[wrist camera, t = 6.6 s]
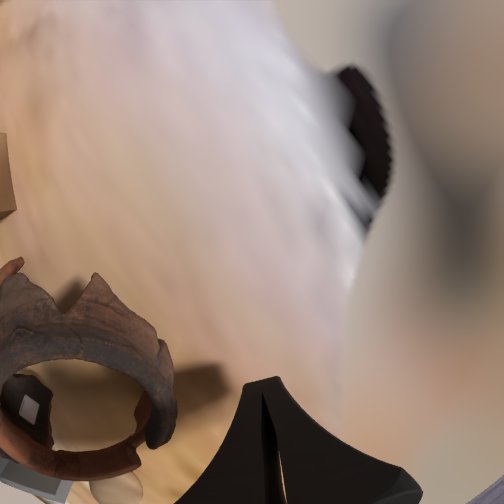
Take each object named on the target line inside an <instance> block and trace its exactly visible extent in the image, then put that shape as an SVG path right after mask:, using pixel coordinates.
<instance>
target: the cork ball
mask: <svg viewBox="0 0 504 504" xmlns="http://www.w3.org/2000/svg"><path fill="white" fill-rule="evenodd" d="M89 486H90V490H91V493H92V495H93V496H94V498H95V499H96V500H97V501H98V502H99V503H100V504H140V502H141V501H142V498H143V487H142V484H141V482H140V480H139V478H138V477H137V476H136V475H135V474H134V473H133V472H129V473H126V474H123V475H121V476H117V477H113V478H110V479H103V480H99V481H89Z"/></svg>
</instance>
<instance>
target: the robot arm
mask: <svg viewBox="0 0 504 504" xmlns="http://www.w3.org/2000/svg"><path fill="white" fill-rule="evenodd" d="M279 453H280V457H279ZM280 459H281V465H282V472H283V478H284V485H285V492H286V499H285V495H284V491H283V484H282V476H281V467H280ZM422 495H423V491H422V489H421V487H420V486H419V484H418V483H417V482H416V481H415V480H414V479H413V478H412V477H411V476H410V475H409V474H408V473H407V472H406V471H405V470H404V469H403V468H401V467H398V466H395V465H392V464H389V463H386V462H383V461H381V460H378V459H376V458H374V457H371V456H369V455H367V454H365V453H363V452H361V451H359V450H357V449H355V448H353V447H351V446H350V445H348V444H346V443H344V442H343V441H341V440H340V439H338V438H337V437H335V436H334V435H332V434H331V433H330V432H328V431H327V430H325V429H324V428H323V427H322V426H320V425H319V424H318V423H317V422H316V421H315V420H314V419H312V418H311V417H310V416H309V415H308V414H307V413H306V412H305V411H304V410H303V409H302V408H301V407H300V405H299V404H298V403H297V402H296V401H295V400H294V399H293V397H292V396H291V395H290V393H289V392H288V391H287V389H286V388H285V386H284V385H283V383H282V381H281V378H280V377H278V376H274V377H271V378H267V379H263V380H259V381H255V382H250V383H246V384H245V385H244V386H243V390H242V394H241V398H240V401H239V405H238V408H237V411H236V413H235V416H234V419H233V421H232V424H231V426H230V428H229V430H228V432H227V434H226V437H225V439H224V441H223V443H222V444H221V446H220V448H219V450H218V452H217V453H216V455H215V456H214V458H213V459H212V461H211V462H210V464H209V465H208V467H207V468H206V469H205V471H204V472H203V473H202V475H201V476H200V477H199V478H198V480H197V481H196V482H195V483H194V484H193V485H192V486H191V487H190V488H189V489H188V490H187V492H186V493H185V494H184V495H183V496H182V497H181V498H180V499H179V500H177V501H176V502H175V503H174V504H286V500H287V504H419V502H420V500H421V498H422ZM466 504H504V475H503V476H502V477H501V478H499V479H498V480H497V481H496V482H495V483H494V484H492V485H491V486H489V487H488V488H487V489H486V490H484V491H483V492H482V493H481V494H479V495H478V496H476V497H475V498H473V499H472V500H471V501H469V502H468V503H466Z"/></svg>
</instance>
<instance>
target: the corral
mask: <svg viewBox="0 0 504 504" xmlns="http://www.w3.org/2000/svg"><path fill="white" fill-rule="evenodd" d="M0 481H1V482H2V483H5V484H7V485H9V486H12V487H14V488H17V489H20V490H22V491H25V492H28V493H31V494H34V495H37V496H40V497H43V498H46V499H49V500H53V501H56V502H60V503H64V504H65V501H66V498H67V496H68V493H69V491H70V488H71V486H72V484H73V481H68V480H61V479H58V478H53V477H49V476H46V475H43V474H40V473H38V472H36V471H34V470H31V469H29V468H28V467H26V466H24V465H22V464H21V463H19V464H17V463H15V462H13V461H11V460H8V459H5V458H2V457H1V456H0Z"/></svg>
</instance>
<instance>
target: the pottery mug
mask: <svg viewBox="0 0 504 504" xmlns="http://www.w3.org/2000/svg"><path fill="white" fill-rule="evenodd" d="M23 264H24V259H23V258H22V257H19V258H17V259H14V260H11V261H9V262H8V263H7V264H5V265H4V266H3V267H2V268H1V269H0V404H1V405H0V456H1V457H2V458H5V459H8V460H11V461H13V462H15V463H17V464H19V463H21V464H22V465H24V466H26V467H28V468H29V469H31V470H34V471H36V472H38V473H40V474H43V475H46V476H49V477H53V478H58V479H61V480H68V481H99V480H103V479H110V478H113V477H117V476H121V475H123V474H126V473H129V472H132V471H133V470H135V469H137V468H139V467H140V466H141V460H140V458H139V456H138V454H137V453H136V448H137V447H138V446H139V445H140V444H142V443H143V442H144V441H146V444H147V446H148V448H150V449H157V448H158V447H160V446H162V445H164V444H166V443H168V441H169V440H170V439H171V437H172V434H173V433H174V429H175V426H176V418H177V401H176V398H175V396H174V393H173V383H174V369H173V362H172V359H171V356H170V353H169V350H168V347H167V344H166V343H165V341H164V340H162V339H158V338H157V332H156V330H155V328H154V327H153V326H152V325H151V324H150V323H148V322H147V321H146V320H145V319H143V318H142V317H140V316H138V315H137V314H136V313H135V312H133V311H131V310H130V309H129V308H127V307H126V306H125V305H124V304H123V303H122V302H121V301H120V300H119V299H118V297H117V296H116V295H115V294H114V293H113V292H112V290H111V288H110V286H109V285H108V284H107V283H106V282H105V280H104V279H103V278H102V277H101V276H100V275H99V274H98V273H96V272H95V273H94V274H93V275H92V277H91V281H90V282H89V284H88V285H87V287H86V288H85V289H84V290H83V291H82V293H81V294H80V296H79V297H78V299H77V300H76V301H75V303H74V304H73V305H72V307H71V308H70V309H69V310H68V311H67V312H66V313H64V314H62V313H60V311H59V310H58V308H57V306H56V304H55V301H54V299H53V298H52V297H51V296H50V295H49V294H48V293H47V292H46V291H45V290H44V289H42V288H40V287H39V286H37V285H35V284H32V283H31V282H30V281H29V279H28V278H27V277H26V275H24V274H23V273H17V272H18V270H19V269H20V268H21V267H22V266H23ZM16 273H17V274H16ZM57 359H79V360H84V361H88V362H94V363H98V364H100V365H103V366H106V367H109V368H113V369H115V370H117V371H120V372H122V373H124V374H126V375H127V376H129V377H132V378H133V379H134V380H136V381H137V382H138V383H139V384H140V385H141V386H142V387H143V388H144V389H145V390H146V392H145V393H144V394H143V396H142V397H141V399H140V400H139V402H138V404H137V406H136V408H135V411H134V416H135V419H136V421H137V428H136V431H135V433H134V434H133V435H131V436H129V437H128V438H127V439H125V440H123V441H122V442H119V443H117V444H115V445H113V446H110V447H107V448H105V449H100V450H94V451H83V452H71V451H64V450H58V451H54V450H52V447H53V445H54V440H53V437H52V435H51V434H52V428H51V423H50V412H51V399H52V397H53V393H52V391H51V390H50V389H49V388H47V387H46V386H44V385H43V384H42V383H41V382H40V381H39V380H38V379H37V378H36V377H35V376H34V375H24V374H14V373H16V372H17V371H19V370H21V369H23V368H25V367H27V366H30V365H34V364H37V363H40V362H44V361H50V360H57Z"/></svg>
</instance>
